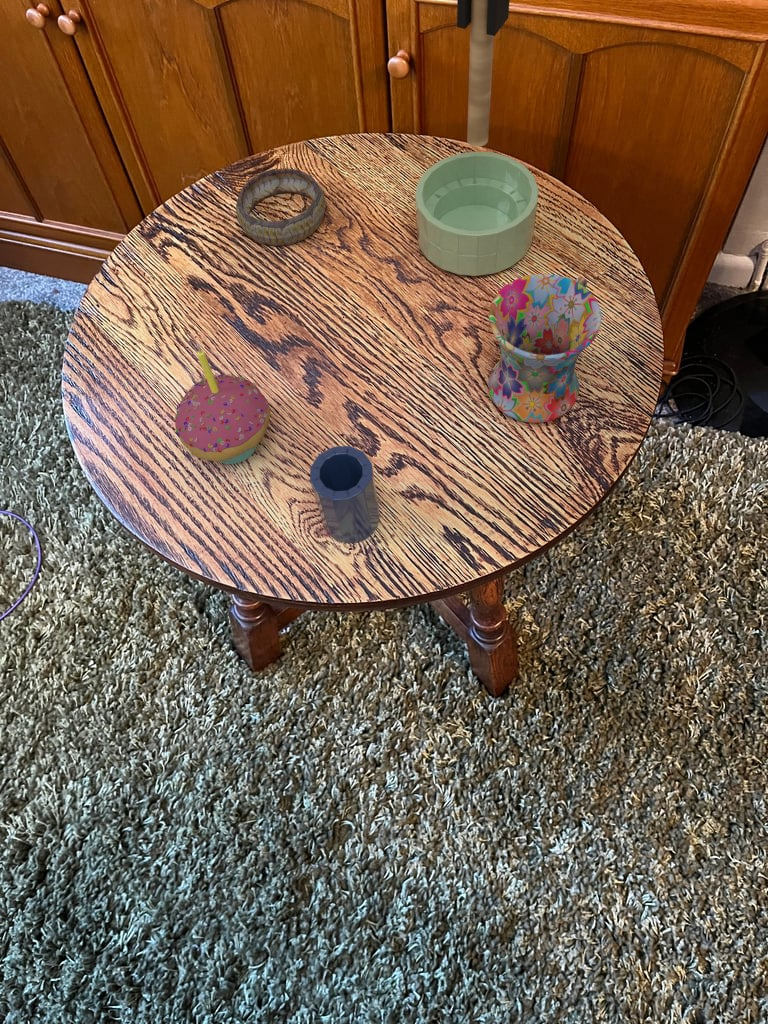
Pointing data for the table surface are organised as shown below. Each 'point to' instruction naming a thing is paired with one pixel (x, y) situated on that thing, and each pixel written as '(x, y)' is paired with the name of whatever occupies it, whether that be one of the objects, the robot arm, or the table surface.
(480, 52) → the stick
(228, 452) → the cupcake
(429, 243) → the bowl
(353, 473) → the holder
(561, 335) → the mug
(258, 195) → the decorative ring
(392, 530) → the table surface
